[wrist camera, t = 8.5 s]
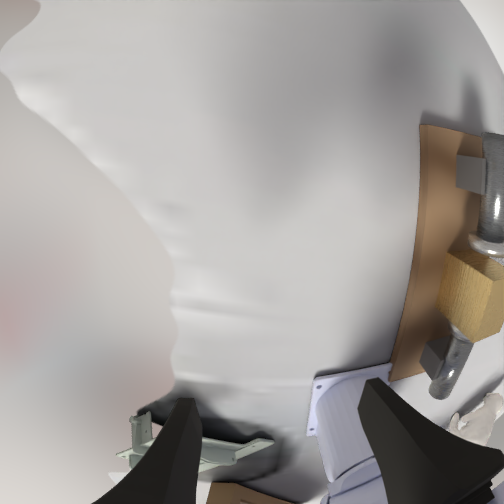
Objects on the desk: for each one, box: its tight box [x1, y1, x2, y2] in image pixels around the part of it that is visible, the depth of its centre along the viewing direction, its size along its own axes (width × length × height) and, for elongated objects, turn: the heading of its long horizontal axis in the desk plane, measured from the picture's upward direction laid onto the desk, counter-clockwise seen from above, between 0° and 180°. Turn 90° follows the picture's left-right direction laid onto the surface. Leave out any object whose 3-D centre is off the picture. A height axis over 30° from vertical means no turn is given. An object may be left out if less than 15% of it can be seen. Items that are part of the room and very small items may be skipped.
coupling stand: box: [388, 125, 504, 400], centre depth 17 cm, size 22×9×6 cm, turn 3°
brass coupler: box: [435, 249, 504, 343], centre depth 16 cm, size 5×4×6 cm
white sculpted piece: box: [449, 393, 503, 446], centre depth 25 cm, size 6×8×12 cm
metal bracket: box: [116, 411, 274, 472], centre depth 25 cm, size 14×6×15 cm
